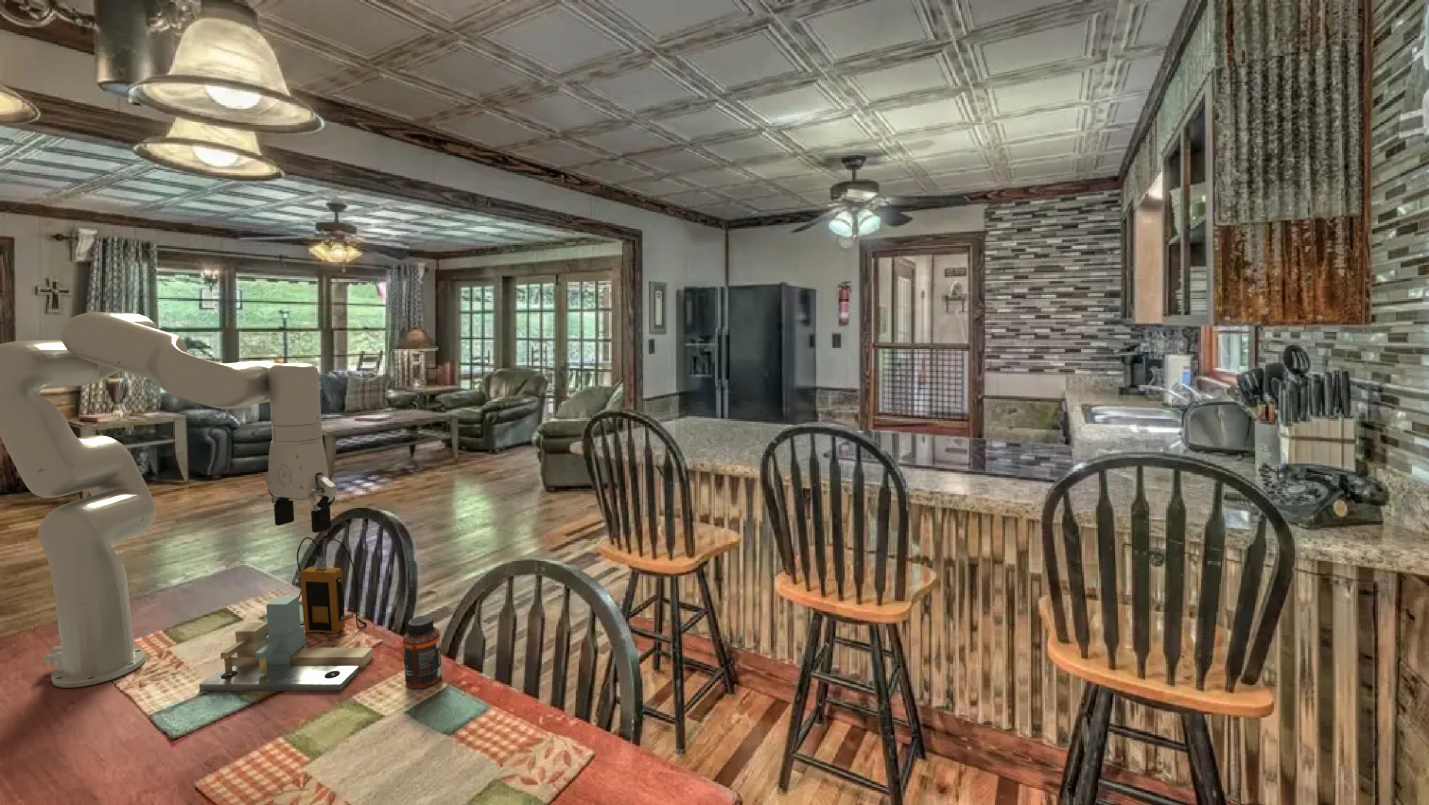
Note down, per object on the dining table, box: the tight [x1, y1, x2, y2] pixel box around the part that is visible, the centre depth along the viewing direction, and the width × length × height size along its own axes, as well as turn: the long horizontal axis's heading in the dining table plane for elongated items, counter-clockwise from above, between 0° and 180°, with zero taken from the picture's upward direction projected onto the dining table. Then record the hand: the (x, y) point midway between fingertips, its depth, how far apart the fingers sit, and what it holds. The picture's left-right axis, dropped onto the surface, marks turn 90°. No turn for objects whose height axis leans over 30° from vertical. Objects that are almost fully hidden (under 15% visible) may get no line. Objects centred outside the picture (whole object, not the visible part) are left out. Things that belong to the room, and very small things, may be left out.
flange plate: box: [198, 665, 360, 692], centre depth 117 cm, size 24×6×1 cm, turn 91°
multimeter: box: [296, 536, 368, 635], centre depth 138 cm, size 15×10×20 cm
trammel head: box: [255, 595, 307, 674], centre depth 120 cm, size 4×10×12 cm, turn 1°
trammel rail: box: [220, 622, 374, 674], centre depth 120 cm, size 24×9×7 cm, turn 91°
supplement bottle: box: [402, 615, 443, 689], centre depth 116 cm, size 6×6×11 cm
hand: (303, 527), depth 119 cm, fingers open, 9 cm apart
